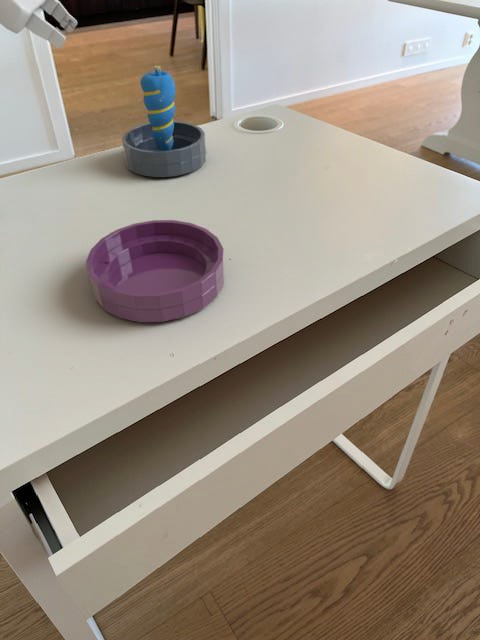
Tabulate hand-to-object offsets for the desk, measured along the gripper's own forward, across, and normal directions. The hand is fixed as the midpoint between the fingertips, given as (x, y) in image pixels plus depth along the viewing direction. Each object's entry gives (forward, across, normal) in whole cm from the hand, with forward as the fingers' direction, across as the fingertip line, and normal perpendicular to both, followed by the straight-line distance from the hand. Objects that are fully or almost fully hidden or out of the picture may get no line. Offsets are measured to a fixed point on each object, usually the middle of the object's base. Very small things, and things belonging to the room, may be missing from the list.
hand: (69, 35), depth 73 cm
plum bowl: (+22, -34, +6) cm, 41 cm away
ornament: (+22, -1, +5) cm, 22 cm away
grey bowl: (+22, -1, +5) cm, 22 cm away
